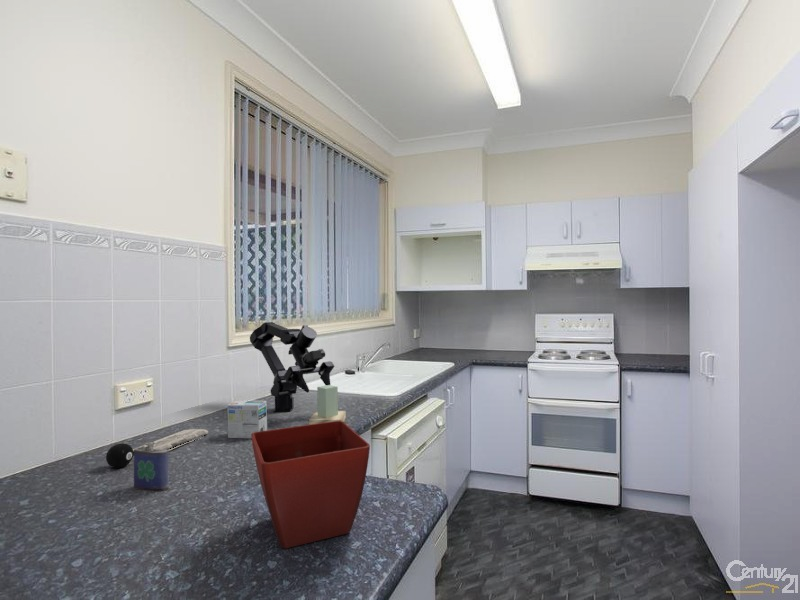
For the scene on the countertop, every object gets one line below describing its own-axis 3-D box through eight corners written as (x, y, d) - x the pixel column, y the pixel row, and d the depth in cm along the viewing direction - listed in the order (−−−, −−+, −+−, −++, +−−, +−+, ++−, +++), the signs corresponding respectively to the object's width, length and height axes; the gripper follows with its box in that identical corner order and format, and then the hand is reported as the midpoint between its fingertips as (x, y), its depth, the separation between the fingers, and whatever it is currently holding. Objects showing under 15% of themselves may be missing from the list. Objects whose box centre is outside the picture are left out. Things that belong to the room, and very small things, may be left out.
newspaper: (157, 459, 125) (156, 450, 125) (124, 460, 129) (124, 451, 129) (215, 435, 146) (214, 427, 146) (185, 436, 150) (184, 428, 150)
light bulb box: (267, 432, 147) (267, 400, 147) (259, 439, 140) (258, 404, 140) (236, 432, 148) (236, 399, 148) (227, 438, 141) (226, 404, 141)
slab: (308, 429, 150) (308, 420, 150) (315, 419, 162) (315, 411, 162) (341, 428, 150) (341, 419, 150) (345, 419, 162) (345, 410, 162)
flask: (171, 487, 104) (170, 441, 104) (161, 492, 102) (160, 445, 101) (140, 483, 107) (139, 439, 107) (129, 488, 104) (128, 442, 104)
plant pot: (263, 566, 73) (261, 462, 73) (251, 515, 90) (250, 431, 90) (373, 539, 80) (371, 445, 80) (343, 496, 98) (342, 420, 98)
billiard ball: (120, 471, 115) (120, 448, 115) (100, 470, 116) (100, 447, 116) (138, 463, 121) (138, 441, 121) (119, 462, 122) (119, 440, 122)
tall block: (317, 415, 156) (317, 386, 156) (329, 412, 160) (329, 384, 160) (326, 418, 153) (325, 388, 153) (337, 415, 156) (337, 386, 156)
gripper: (288, 344, 157) (305, 379, 149) (331, 340, 170) (349, 372, 162) (276, 364, 162) (293, 399, 155) (319, 358, 176) (336, 390, 168)
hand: (319, 389), depth 160 cm, fingers open, 9 cm apart
